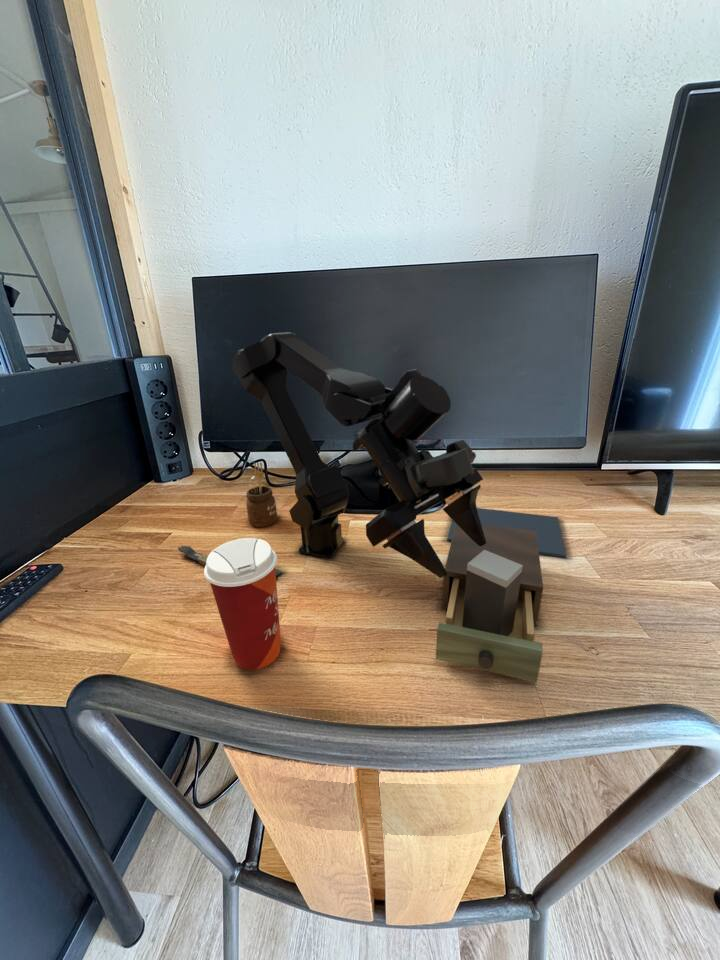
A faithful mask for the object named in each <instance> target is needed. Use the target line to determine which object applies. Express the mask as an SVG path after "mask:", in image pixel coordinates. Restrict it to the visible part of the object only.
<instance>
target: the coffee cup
mask: <svg viewBox="0 0 720 960" xmlns="http://www.w3.org/2000/svg"><path fill="white" fill-rule="evenodd" d="M207 556H208V557H207V561H206V565H204V570H203V576H204V578H205V580H206V581H207V582H209V584H210V588H211V590H212V594H213V597H214V600H215V604H216V608H217V610H218V614H219V616H220V619H221V620H220V621H221V623H222V626H223V630H224V633H225V636H226V640H227V642H228V647H229V648H230V652H231V655H232V657H233V660H234V662H235V664H236V665H237V666H238V667H239V668H241V669H243V670H246V671H256V670H257V671H258V670H260V669H263V668H266V667H268V666H269V665H271V664H272V663H273V662H274V661H275V660H276V659H277V657H279V655H280V652H281V645H282V644H281V643H282V642H281V641H282V640H281V627H280V625H281V624H280V611H279V601H278V599H279V598H278V588H277V576H276V573H275V569H276V565H277V564H278V556H277V553H276V552H275V551H274V550H273V549H272V545H270V543H268V542H267V541H266V540H264V539H262V538H257V537H256V538H255V537H242V538H236V539H233V540H228V541H225V542H224V543H222V544H220V545H219V546H217V547H216V548H214V549H213V550H211V551H210V553H209V554H208V555H207Z"/></svg>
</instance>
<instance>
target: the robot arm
mask: <svg viewBox="0 0 720 960" xmlns="http://www.w3.org/2000/svg"><path fill="white" fill-rule="evenodd" d="M232 368H233V369H232V370H233V372H234V375H235V376H236V377H237V378H238V381H239V382H240V384H241V386H242V387H243V388H244V390H245V392H247V393H248V394H250V395H252V396H253V397H254V398H255V399H257V400H259V401H260V402H261V404H262V406H263V409H264V411H265V412H266V415H267V417H268V419H269V421H270V423H271V425H272V427H273V429H274V431H275V434H276V435H277V437H278V440H279V441H280V444H281V446H282V448H283V450H284V452H285V454H286V457H287V458H288V460H289V462H290V464H291V466H292V468H293V470H294V473H295V484H294V494H295V497H296V500H297V501H296V502H295V504H293V505H292V507H291V508H290V509H289V515H290V518H291V521H292V523H294V524H296V525H298V526H300V537H301V546H300V547H299V548H298V550H297V551H298V554H303V555H309V556H316V557H322V558H326V559H331V558H332V557H333V556H334V555H335V553H336V551H337V550H339V549H340V547H341V545H342V544H343V541H344V537H343V535H342V534H343V533H342V524H341V523H339V515H342V514H345V512H346V508H347V505H348V502H349V498H350V492H349V488H348V483H347V482H346V480H345V479H344V477H343V475H342V472H341V470H340V469H341V468H339V467H338V465H337V464H334V465H331V466H330V465H328V464H327V463H325V462H324V461H323V460H322V458H321V456H320V454H319V452H318V450H317V449H316V446H315V445H314V442H313V440H312V438H311V435H310V434H309V432H308V430H307V428H306V426H305V424H304V422H303V419H302V418H301V416H300V414H299V412H298V410H297V408H296V405H295V404H294V401H293V400H292V398H291V397H292V396H290V393H289V391H288V389H287V384H288V376H289V372H290V373H292V374H293V375H294V376H295V377H296V378H298V379H299V380H301V381H302V382H304V383H305V384H306V385H307V386H309V387H310V388H311V389H313V390H314V391H315V392H317V394H319V395H320V396H321V398H322V401H323V405H324V408H325V410H327V412H328V413H329V414H330V415H331V416H332V417H333V418H334V419H335V420H336V421H337V423H339V424H340V425H342V426H343V427H351V426H356V425H359V424H362V423H365V422H368V421H370V422H368V424H367V425H366V426H365V427H364V428H362V429H358V430H354V439H353V441H352V450H353V451H354V452H357V451H360V450H362V449H365V450H366V452H367V453H368V455H369V456H370V458H371V459H372V460H373V462H374V465H376V467H377V469H378V470H379V472H380V474H381V475H382V477H380V479H378V482H379V484H380V485H381V487H385V486H387V485H388V486H389V487H390V488H391V490H392V492H393V493H394V495H395V496H396V498H397V499H398V500H399V501H398V502H396V503H395V504H392V505H390V506H389V507H387V508H385V509H383V510H382V511H380V512H379V513H378V514H377V515H375V517H373V518H372V519H371V520H370V521H368V522H367V523H366V524H365V535H366V539H368V541H369V543H370V544H371V545H372V547H373V548H374V547H376V546H378V545H379V544H381V543H383V542H384V541H386V540H387V541H386V542H385V543H384V544H382V545H381V546H382V548H383V549H387V548H390V549H393V550H394V551H395V552H398V553H400V554H402V555H403V556H404V557H407V558H408V559H410V560H412V561H413V562H414V563H417V564H418V565H420V566H421V567H422V568H424V569H426V570H427V571H429V572H431V574H433V575H435V576H437V577H438V578H440V579H442V578H444V576H446V575H447V572H446V570H445V566H444V564H443V563H442V561H441V559H440V557H439V555H438V554H437V552H436V551H435V549H434V548H433V546H432V544H431V543H430V541H429V539H428V537H427V536H426V533H425V519H424V518H422V519H420V520H419V521H416V519H417V517H418V516H419V515H421V514H423V513H424V512H426V511H428V510H430V509H432V508H433V507H435V506H437V505H438V504H440V503H441V504H443V505H446V506H445V507H443V508H442V510H443V512H444V513H445V514H446V515H447V516H448V517H449V518H450V519H451V521H452V520H453V521H454V522H455V523H456V524H457V525H458V526H459V527H460V528H461V529H462V530H463V531H464V532H465V533H466V534H467V535H468V536H469V537H470V538H471V539H472V540H473V541H474V542H475V543H476V544H478V545H479V546H483V545H485V544H486V539H485V536H484V532H483V529H482V525H481V522H480V519H479V515H478V511H477V508H478V506H477V503H476V502H477V498H478V493H479V491H480V490H481V487H482V485H481V484H479V483H480V482H482V481H483V480H484V478H483V477H482V475H481V474H480V472H479V471H478V470H477V468H476V467H473V465H472V464H473V463H474V462H475V459H476V457H477V455H476V453H475V452H474V451H473V449H472V448H471V447H470V445H468V443H467V442H466V441H465V440H464V439H460V440H457V441H454V442H451V443H449V444H447V445H446V449H445V452H444V453H441V454H439V455H436V456H433V455H432V454H431V452H430V451H429V450H427V449H426V448H424V449H422V450H418V448H417V447H416V445H415V444H414V442H413V441H418V440H419V439H421V438H422V437H423V436H424V435H425V434H426V433H427V432H428V431H429V430H430V429H431V428H432V427H434V426H435V425H436V424H437V423H438V422H439V421H440V420H441V419H442V418H443V417H444V416H445V415H446V414H447V413H448V412H450V410H451V407H452V403H451V402H452V401H451V398H450V396H449V394H448V392H447V389H445V388H444V386H443V385H440V384H439V383H437V382H436V381H435V380H434V379H432V378H430V377H428V376H424V375H422V373H421V372H420V371H419V369H418V368H415V369H410V370H406V371H405V372H404V373H403V374H402V376H401V377H400V379H399V381H398V382H397V383H396V385H395V386H394V387H393V388H389V387H387V386H385V385H384V383H383V382H382V381H381V380H380V379H378V378H377V377H376V378H375V377H373V376H370V375H368V374H366V373H363V372H359V371H353V370H348V369H345V368H343V367H340V366H339V365H337V363H334V362H333V361H332V360H330V359H329V358H328V357H326V356H324V355H323V354H322V353H320V352H319V351H318V350H316V349H314V348H313V347H312V346H310V345H308V344H307V343H305V342H304V341H303V340H301V339H300V337H299V335H297V334H296V333H293V332H290V331H286V332H274V333H270V334H268V335H265V336H264V337H263V338H262V339H261V340H260V341H258V342H255V343H253V344H251V345H249V346H247V347H245V348H243V349H242V348H241V349H238V351H236V355H235V356H234V357H233V359H232ZM477 484H479V485H477ZM474 486H475V487H474Z"/></svg>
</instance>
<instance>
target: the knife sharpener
mask: <svg viewBox="0 0 720 960" xmlns="http://www.w3.org/2000/svg"><path fill="white" fill-rule="evenodd" d="M522 567H523V565H521V564H518V563H516V562H513V561H511V560H508V559H506V558H503V557H501V556H499V555H496V554H494V553H491V552H489V551H486V550H483V551H482V552H481V553H480V554H478V555H477V556H476V557H475V558H474V559H472V560H471V561H470V562H469V563H468V564H467V575H466V587H465V599H464V611H463V623H462V627H464V628H469V629H474V630H479V631H484V632H489V633H494V634H498V635H503V636H509V635H510V633H511V632H512V631H513V627H514V620H515V614H516V607H517V601H518V594H519V587H520V581H521V574H522Z"/></svg>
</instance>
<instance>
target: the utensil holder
mask: <svg viewBox="0 0 720 960" xmlns="http://www.w3.org/2000/svg"><path fill="white" fill-rule="evenodd" d="M253 466H254V475H253V478H252V479H253V481H255V480H258V482H256V483H255V484H256V486H255V485H254V484H251V483H252V479H251V478H249V480H248V481H250V483H249V484H248V485H249V489H248V490H247V491H246V494H245V496H246V499H247V500H246V503H245V504H246V505H245V506H246V513H247V518H248V522H249V524H250V525H251V526H253V527H256V528H264V527H268V526H271V525H273V524H274V523H276V522H277V519H278V511H277V510H278V509H277V503H276V499H275V497H274V496H273V490H272V487H270V486H268V485H262V481H261V479H262V478H263V477H264V472H263V463H262V461H260V462H253ZM257 484H258V485H257Z"/></svg>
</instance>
